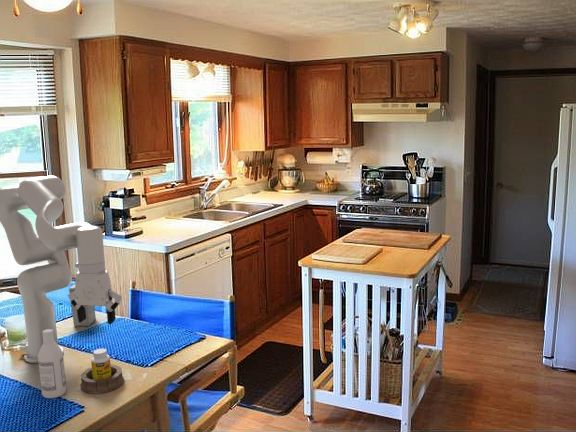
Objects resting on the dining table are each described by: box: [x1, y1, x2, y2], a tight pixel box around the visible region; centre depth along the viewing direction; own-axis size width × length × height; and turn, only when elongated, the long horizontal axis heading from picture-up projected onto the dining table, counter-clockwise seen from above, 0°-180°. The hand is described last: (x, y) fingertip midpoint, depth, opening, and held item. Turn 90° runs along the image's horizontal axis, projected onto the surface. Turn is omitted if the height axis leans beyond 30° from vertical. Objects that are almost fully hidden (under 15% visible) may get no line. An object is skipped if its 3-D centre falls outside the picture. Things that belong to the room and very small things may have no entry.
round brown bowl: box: [79, 364, 125, 395], centre depth 180 cm, size 13×13×4 cm
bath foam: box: [37, 329, 67, 399], centre depth 173 cm, size 7×7×20 cm
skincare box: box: [68, 284, 97, 327], centre depth 231 cm, size 8×7×16 cm
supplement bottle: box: [90, 348, 112, 380], centre depth 179 cm, size 6×6×10 cm
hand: (96, 321), depth 177 cm, fingers open, 9 cm apart
